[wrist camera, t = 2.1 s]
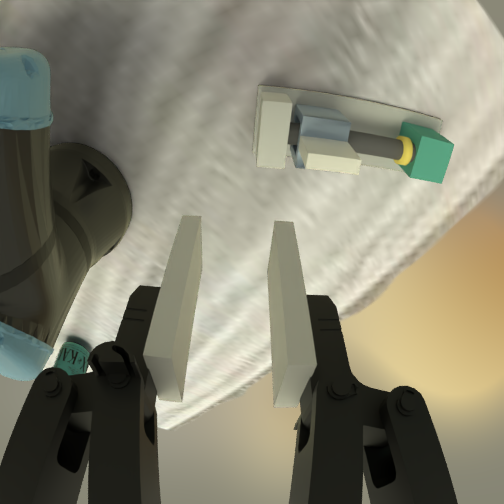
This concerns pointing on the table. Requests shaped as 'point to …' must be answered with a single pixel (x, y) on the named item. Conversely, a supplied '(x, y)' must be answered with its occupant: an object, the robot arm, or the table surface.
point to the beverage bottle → (72, 358)
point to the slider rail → (354, 132)
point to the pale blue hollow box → (324, 141)
